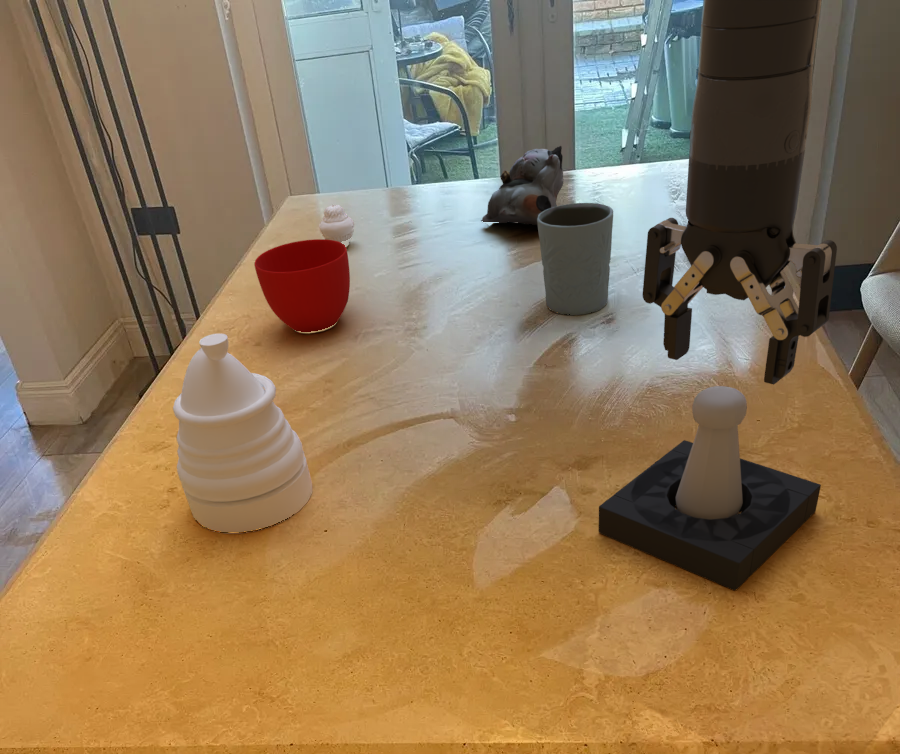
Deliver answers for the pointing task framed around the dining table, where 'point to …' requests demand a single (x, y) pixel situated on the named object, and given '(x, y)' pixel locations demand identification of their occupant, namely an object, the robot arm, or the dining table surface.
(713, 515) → the cream tapered peg
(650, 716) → the dining table surface
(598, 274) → the drinking glass
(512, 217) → the lucky cat figurine
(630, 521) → the base pad
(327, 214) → the muffin
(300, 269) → the ceramic cup
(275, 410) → the honey pot
